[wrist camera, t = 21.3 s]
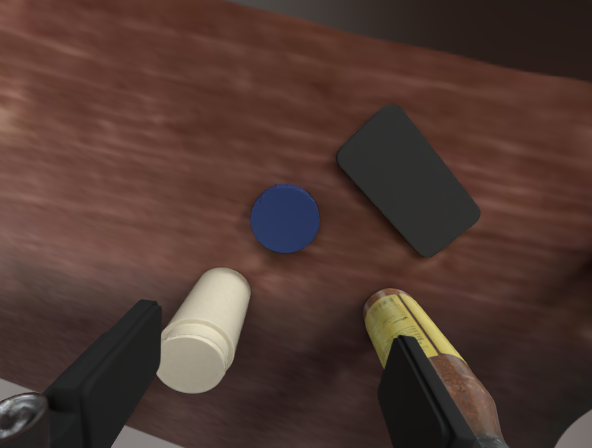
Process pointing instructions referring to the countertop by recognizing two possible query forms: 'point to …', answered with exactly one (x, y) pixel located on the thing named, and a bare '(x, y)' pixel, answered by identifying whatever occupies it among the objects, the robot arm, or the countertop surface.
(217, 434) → the countertop surface
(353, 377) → the countertop surface
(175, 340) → the mayonnaise jar
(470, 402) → the sauce bottle
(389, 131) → the phone
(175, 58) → the countertop surface
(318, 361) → the countertop surface
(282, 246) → the jar lid
